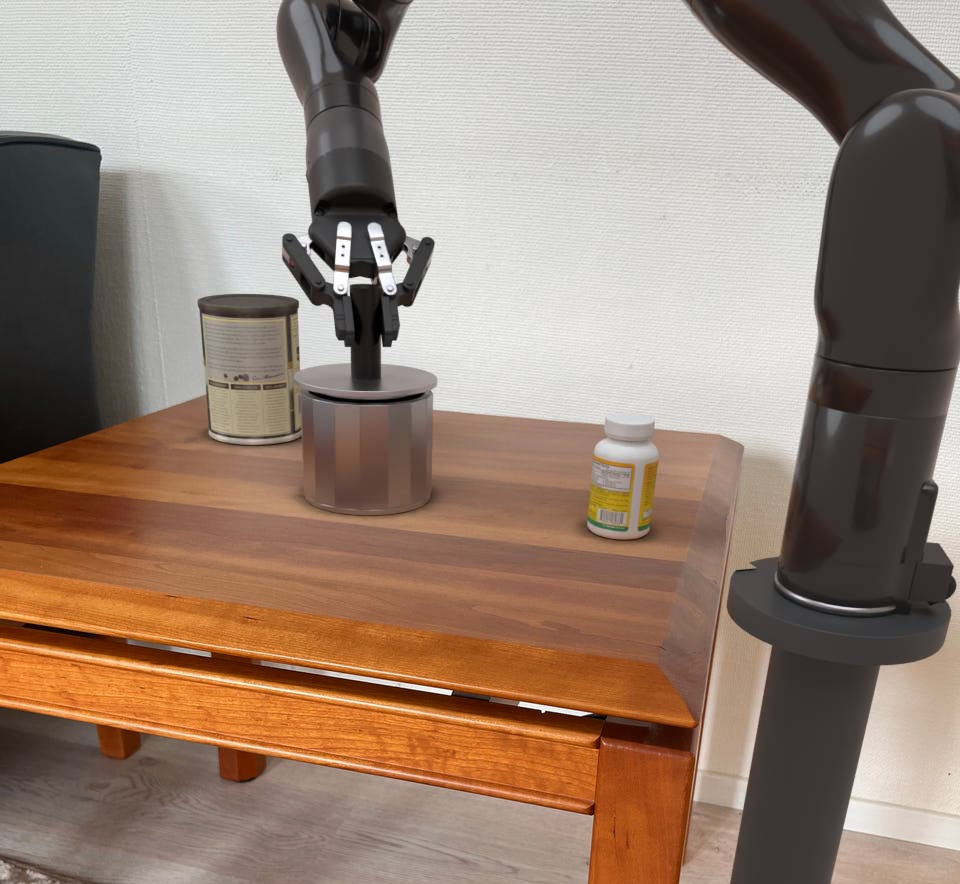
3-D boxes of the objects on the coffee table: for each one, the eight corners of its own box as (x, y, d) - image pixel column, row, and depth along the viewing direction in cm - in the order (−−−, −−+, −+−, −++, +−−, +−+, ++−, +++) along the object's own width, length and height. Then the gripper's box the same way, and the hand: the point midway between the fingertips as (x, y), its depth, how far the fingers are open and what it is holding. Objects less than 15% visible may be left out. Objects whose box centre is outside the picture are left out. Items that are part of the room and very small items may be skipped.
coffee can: (195, 427, 113) (184, 294, 107) (283, 419, 118) (277, 292, 112) (225, 449, 105) (215, 307, 99) (318, 440, 110) (314, 304, 104)
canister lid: (450, 381, 94) (453, 282, 90) (418, 409, 82) (419, 298, 79) (321, 371, 95) (318, 274, 92) (272, 398, 84) (267, 288, 81)
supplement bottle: (601, 542, 84) (612, 426, 80) (577, 522, 88) (586, 411, 84) (660, 538, 85) (674, 424, 81) (633, 518, 90) (645, 409, 86)
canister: (442, 484, 97) (444, 383, 93) (413, 520, 87) (414, 409, 83) (327, 473, 99) (325, 374, 95) (285, 508, 89) (281, 398, 85)
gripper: (270, 140, 86) (285, 312, 80) (433, 147, 89) (458, 313, 83) (270, 205, 93) (284, 368, 87) (421, 210, 96) (444, 367, 90)
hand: (369, 340), depth 85 cm, fingers closed on canister lid, 2 cm apart
